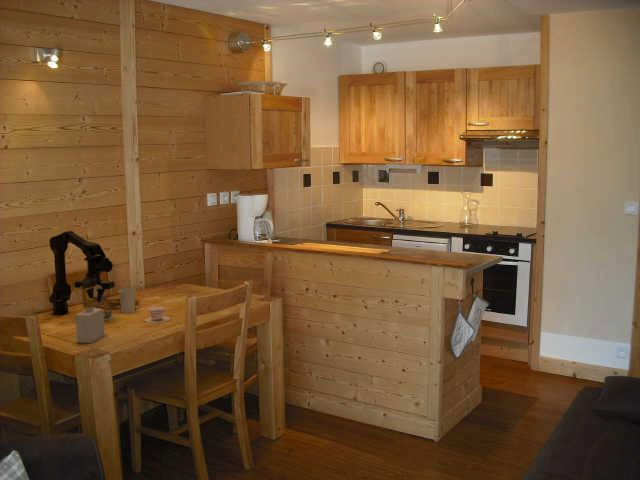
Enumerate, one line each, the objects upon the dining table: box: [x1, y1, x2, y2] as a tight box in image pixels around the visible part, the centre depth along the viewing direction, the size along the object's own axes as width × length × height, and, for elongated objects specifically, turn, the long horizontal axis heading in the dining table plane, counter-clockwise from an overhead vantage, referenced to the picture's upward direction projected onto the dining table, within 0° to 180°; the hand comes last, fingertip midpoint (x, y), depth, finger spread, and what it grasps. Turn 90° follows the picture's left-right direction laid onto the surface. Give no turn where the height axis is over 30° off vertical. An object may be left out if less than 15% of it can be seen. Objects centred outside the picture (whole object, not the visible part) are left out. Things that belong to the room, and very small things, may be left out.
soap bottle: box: [75, 287, 105, 344], centre depth 307 cm, size 12×7×23 cm, turn 167°
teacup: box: [144, 305, 171, 324], centre depth 339 cm, size 12×12×6 cm
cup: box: [118, 288, 136, 314], centre depth 351 cm, size 8×8×12 cm
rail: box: [82, 293, 108, 309], centre depth 337 cm, size 4×15×4 cm, turn 166°
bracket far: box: [103, 309, 112, 318], centre depth 342 cm, size 9×4×3 cm, turn 76°
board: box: [103, 313, 118, 322], centre depth 339 cm, size 12×18×1 cm, turn 166°
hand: (95, 301), depth 337 cm, fingers closed on rail, 3 cm apart
